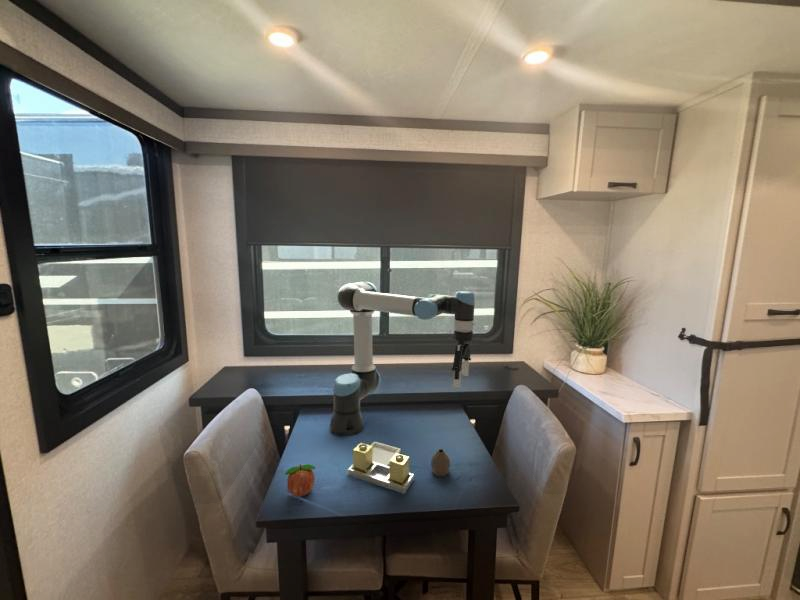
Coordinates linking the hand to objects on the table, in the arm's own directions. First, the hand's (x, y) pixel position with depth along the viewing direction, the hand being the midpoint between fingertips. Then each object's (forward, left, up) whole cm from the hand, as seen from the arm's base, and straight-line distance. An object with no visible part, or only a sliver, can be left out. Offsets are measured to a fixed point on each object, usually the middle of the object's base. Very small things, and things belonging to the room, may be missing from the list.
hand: (461, 380), depth 140 cm
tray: (-24, -24, -27) cm, 44 cm away
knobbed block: (-11, -35, -27) cm, 45 cm away
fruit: (-38, -53, -27) cm, 71 cm away
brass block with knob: (-25, -35, -27) cm, 51 cm away
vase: (0, -23, -27) cm, 36 cm away
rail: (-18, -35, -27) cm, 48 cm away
